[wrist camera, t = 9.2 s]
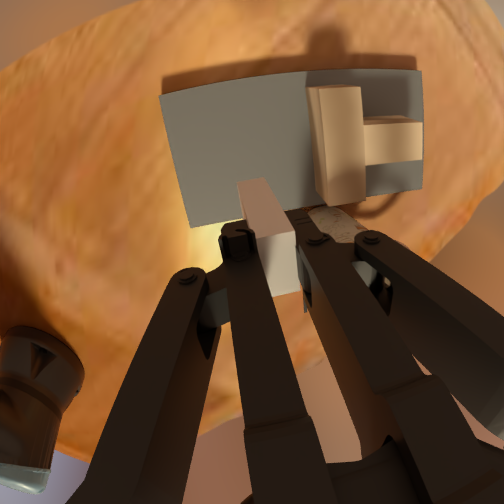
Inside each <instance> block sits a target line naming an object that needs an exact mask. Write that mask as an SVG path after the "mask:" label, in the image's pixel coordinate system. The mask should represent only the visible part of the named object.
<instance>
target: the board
mask: <svg viewBox="0 0 504 504" xmlns="http://www.w3.org/2000/svg"><path fill="white" fill-rule="evenodd" d="M325 85H351V86H359V87H360V88H361V99H362V111H363V117H372V116H393V115H401V116H404V117H407V118H410V119H413V120H417V121H420V122H422V125H423V148H422V160H413V161H403V162H393V163H384V164H375V165H367V166H365V172H366V197H370V196H377V195H383V194H390V193H397V192H404V191H411V190H418V189H422V181H423V158H424V109H423V87H422V73H421V71H417V70H400V69H332V70H314V71H300V72H289V73H280V74H271V75H263V76H255V77H248V78H242V79H235V80H229V81H224V82H218V83H213V84H207V85H202V86H198V87H193V88H188V89H184V90H180V91H175V92H171V93H167V94H163V95H160V96H159V100H160V105H161V110H162V114H163V119H164V123H165V128H166V132H167V136H168V141H169V145H170V149H171V153H172V158H173V162H174V166H175V170H176V174H177V178H178V182H179V186H180V190H181V194H182V198H183V202H184V206H185V209H186V213H187V217H188V221H189V224H190V228H194V227H199V226H204V225H209V224H214V223H220V222H225V221H230V220H235V219H241V218H243V215H242V210H241V204H240V199H239V193H238V188H237V182H240V181H246V180H251V179H256V178H262V177H264V178H265V180H266V182H267V183H268V185H269V187H270V188H271V190H272V192H273V194H274V195H275V197H276V199H277V200H278V202H279V204H280V206H281V207H282V209H283V211H285V210H290V209H296V208H302V207H308V206H314V205H320V204H326V202H325V201H324V200H323V199H322V197H321V196H320V195H319V194H318V193H317V191H316V186H315V174H314V163H313V153H312V143H311V133H310V124H309V115H308V107H307V99H306V91H305V87H312V86H325Z"/></svg>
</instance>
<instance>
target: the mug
mask: <svg viewBox="0 0 504 504" xmlns="http://www.w3.org/2000/svg"><path fill="white" fill-rule="evenodd" d="M308 215H309V216H310V218H311V219H312V220H313V222H314V223H315V224H316V226H317V227H318V229H319V230H320V231H321V232H324V233H327V234H329V235H331V236H332V237H333V238H334V240H335V241H336V242H338V243H354V237H355V235H356V234H358V233H359V232H362V231H366V230H368V229H367V228H365V227H364V226H363V225H361V224H360V223H359V222H357V221H356V220H355V219H353V218H352V217H351V216H349V215H348V214H347V213H345V212H344V211H342V210H341V209H339V208H337V207H335V206H330V207H329V206H328V205H324V206H319V207H316V208H314V209H312V210H310V211H309V212H308ZM395 241H396V240H395ZM396 242H398V241H396ZM398 243H399V244H401V245H403V246H404V247H406V248H407V249H409V248H408V247H407V246H406V245H404V244H402V243H400V242H398ZM409 250H410V249H409ZM410 251H411V250H410ZM385 283H386V284H387V285H389V286H390V281H389V280H388V279H387V278H386V277H385Z"/></svg>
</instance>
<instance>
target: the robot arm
mask: <svg viewBox="0 0 504 504" xmlns="http://www.w3.org/2000/svg"><path fill="white" fill-rule="evenodd" d="M237 188H238V193H239V199H240V204H241V210H242V215H243V220H240V221H235V222H231V223H226V224H224V226H223V227H222V229H221V235H220V236H219V239H218V242H219V246H220V250H221V254H222V258H223V263H222V264H221V265H220V266H219V267H218V268H216V269H215V270H213V271H211V272H208V273H205V271H204V270H203V269H201V268H197V267H191V268H185V269H182V270H180V271H178V272H177V273H175V274H174V275H173V276H172V278H171V279H170V281H169V283H168V285H167V287H166V289H165V291H164V293H163V295H162V297H161V299H160V301H159V304H158V306H157V308H156V310H155V312H154V314H153V316H152V318H151V320H150V323H149V325H148V327H147V329H146V331H145V333H144V336H143V338H142V340H141V342H140V344H139V347H138V349H137V351H136V353H135V355H134V358H133V360H132V362H131V364H130V367H129V369H128V371H127V374H126V376H125V378H124V381H123V383H122V385H121V388H120V390H119V392H118V395H117V397H116V400H115V402H114V404H113V407H112V409H111V412H110V414H109V417H108V419H107V422H106V424H105V427H104V429H103V432H102V434H101V437H100V439H99V442H98V444H97V447H96V450H95V452H94V455H93V458H92V460H91V463H90V466H89V469H88V471H87V474H86V477H85V480H84V481H83V482H82V484H81V485H80V486H79V487H78V489H77V490H76V491H75V492H74V493H73V495H72V496H71V497H70V499H69V500H68V501H67V502H66V503H65V504H182V501H183V496H184V492H185V487H186V483H187V478H188V474H189V469H190V464H191V460H192V456H193V451H194V447H195V442H196V438H197V434H198V429H199V425H200V421H201V416H202V412H203V407H204V403H205V399H206V394H207V390H208V386H209V381H210V377H211V373H212V369H213V364H214V360H215V356H216V352H217V347H218V343H219V339H220V335H221V325H223V324H225V323H227V322H230V323H231V331H232V338H233V346H234V353H235V361H236V368H237V375H238V382H239V389H240V396H241V403H242V409H243V416H244V423H245V429H244V442H245V449H246V455H247V462H248V468H249V474H250V481H251V487H252V494H251V495H249V496H248V497H247V498H246V499H245V500H244V501H242V502H241V504H504V447H503V450H502V449H500V448H497V447H494V446H493V445H490V444H488V443H486V442H483V441H481V440H479V439H477V438H476V437H475V435H474V434H473V431H472V430H471V428H470V426H469V424H468V423H467V421H466V419H465V417H464V415H463V414H462V412H461V410H460V409H459V407H458V405H457V403H456V402H455V400H454V399H453V397H452V395H453V396H454V397H455V398H456V399H457V400H458V401H459V402H460V403H461V404H462V405H463V406H464V407H465V408H466V409H467V410H468V411H469V412H470V413H471V414H472V415H473V416H474V417H475V419H476V420H478V421H479V422H480V423H481V424H482V425H483V426H484V427H485V428H486V429H488V430H489V431H490V432H491V433H493V434H494V435H496V436H497V437H499V438H501V439H502V440H504V317H503V316H502V315H501V314H499V313H498V312H497V311H495V310H494V309H493V308H492V307H490V306H489V305H488V304H486V303H485V302H484V301H482V300H481V299H479V298H478V297H477V296H475V295H474V294H473V293H471V292H470V291H469V290H467V289H466V288H464V287H463V286H462V285H460V284H459V283H457V282H456V281H455V280H453V279H452V278H450V277H449V276H447V275H446V274H445V273H443V272H442V271H440V270H439V269H437V268H436V267H434V266H433V265H431V264H430V263H428V262H427V261H425V260H424V259H422V258H421V257H419V256H418V255H416V254H415V253H413V252H412V251H410V250H409V249H407V248H406V247H404V246H403V245H401V244H399V243H398V242H396V241H395V240H393V239H392V238H390V237H388V236H387V235H385V234H383V233H381V232H379V231H374V230H366V231H362V232H359V233H358V234H356V235H355V237H354V243H338V242H336V241H335V240H334V238H333V237H332V236H331V235H329V234H327V233H324V232H321V231H320V230H319V229H318V227H317V226H316V224H315V223H314V222H313V220H312V219H311V218H310V216H309V215H308V213H307V212H306V211H304V210H302V209H300V208H298V209H293V210H288V211H283V209H282V207H281V206H280V204H279V202H278V200H277V199H276V197H275V195H274V194H273V192H272V190H271V188H270V187H269V185H268V183H267V182H266V180H265V178H264V177H262V178H256V179H251V180H246V181H240V182H237ZM385 277H386V278H387V279H388V280H389V281H390V286H389V285H387V284H386V283H385ZM300 283H301V285H302V288H303V301H304V313H305V312H307V308H308V311H309V313H310V315H311V318H312V320H313V323H314V325H315V328H316V330H317V333H318V335H319V337H320V340H321V342H322V345H323V347H324V350H325V352H326V355H327V357H328V360H329V362H330V365H331V367H332V369H333V372H334V375H335V377H336V380H337V382H338V385H339V388H340V390H341V393H342V395H343V397H344V400H345V403H346V406H347V408H348V411H349V413H350V416H351V419H352V421H353V424H354V426H355V429H356V432H357V434H358V437H359V440H360V445H361V455H362V460H359V461H355V462H342V463H326V462H325V459H324V456H323V452H322V449H321V446H320V442H319V439H318V436H317V433H316V429H315V426H314V424H313V421H312V419H311V417H310V416H309V415H308V413H307V411H306V408H305V405H304V401H303V398H302V395H301V391H300V388H299V384H298V381H297V378H296V374H295V371H294V368H293V364H292V361H291V358H290V354H289V351H288V348H287V345H286V341H285V338H284V335H283V331H282V328H281V325H280V322H279V318H278V315H277V312H276V308H275V305H274V302H273V299H272V297H274V296H278V295H283V294H288V293H292V292H297V291H300ZM412 355H413V356H414V357H415V358H416V359H417V360H418V361H419V362H420V363H422V365H423V366H424V367H425V368H426V369H427V370H429V372H430V373H431V374H432V375H425V374H424V373H423V372H422V371H421V369H420V367H419V366H418V364H417V362H416V361H415V359H414V357H413V356H412ZM83 380H84V369H83V366H82V364H81V362H80V361H79V359H78V358H77V357H76V355H75V354H74V353H73V352H72V351H71V350H70V349H69V348H68V347H67V346H65V345H64V344H63V343H62V342H60V341H59V340H57V339H56V338H54V337H53V336H51V335H49V334H47V333H45V332H43V331H40V330H38V329H35V328H31V327H25V326H18V327H14V328H11V329H10V330H8V331H7V333H6V335H5V337H4V338H3V340H2V342H1V345H0V484H1V485H4V486H7V487H9V488H12V489H15V490H18V491H21V492H25V493H29V494H40V493H42V492H43V491H44V490H45V488H46V484H47V481H48V477H49V474H50V473H51V470H50V468H51V463H52V458H53V453H54V448H55V444H56V439H57V435H58V431H59V427H60V422H61V419H62V415H63V413H64V411H65V410H66V409H67V408H68V406H69V405H70V403H71V402H72V400H73V398H74V397H75V396H76V395H77V394H78V393H79V392H80V390H81V387H82V384H83ZM451 394H452V395H451Z"/></svg>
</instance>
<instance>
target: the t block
mask: <svg viewBox="0 0 504 504" xmlns="http://www.w3.org/2000/svg"><path fill="white" fill-rule="evenodd" d="M305 91H306V99H307V107H308V115H309V124H310V133H311V143H312V153H313V163H314V174H315V186H316V191H317V193H318V194H319V195H320V196H321V197H322V199H323V200H324V201H325V202H326V204H327V205H328V206H329V207H330V206H336V205H342V204H349V203H355V202H361V201H366V172H365V166H367V165H375V164H384V163H393V162H403V161H413V160H422V148H423V125H422V122H420V121H417V120H413V119H410V118H407V117H404V116H401V115H393V116H372V117H363V111H362V99H361V88H360V87H359V86H351V85H325V86H312V87H305Z"/></svg>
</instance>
